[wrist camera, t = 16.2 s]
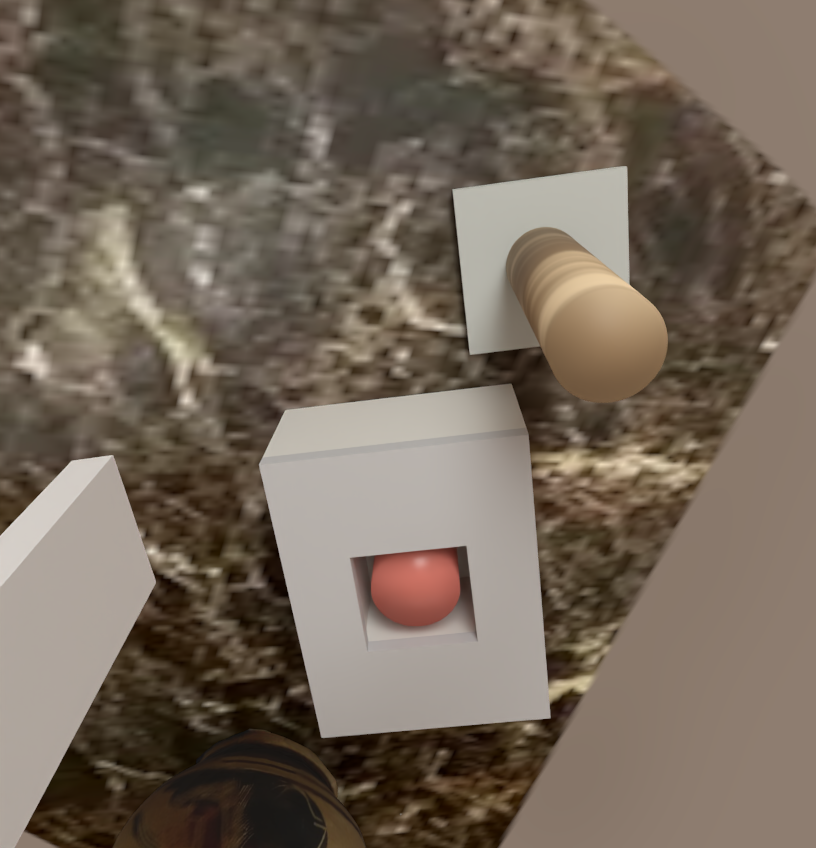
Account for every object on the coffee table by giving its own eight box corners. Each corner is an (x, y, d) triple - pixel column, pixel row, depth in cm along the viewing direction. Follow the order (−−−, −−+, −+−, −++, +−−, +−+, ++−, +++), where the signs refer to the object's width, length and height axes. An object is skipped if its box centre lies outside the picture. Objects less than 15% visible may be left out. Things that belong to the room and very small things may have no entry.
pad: (452, 189, 35) (452, 190, 34) (623, 165, 34) (627, 166, 34) (469, 351, 38) (470, 354, 37) (627, 332, 37) (630, 335, 37)
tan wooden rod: (502, 232, 35) (544, 297, 22) (579, 221, 35) (667, 281, 22) (509, 306, 36) (552, 409, 23) (583, 297, 36) (668, 395, 23)
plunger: (371, 506, 40) (364, 556, 36) (451, 497, 40) (455, 546, 36) (382, 574, 42) (377, 630, 37) (459, 566, 42) (464, 621, 37)
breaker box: (285, 410, 39) (258, 465, 33) (511, 383, 39) (528, 434, 32) (335, 652, 45) (321, 737, 39) (532, 633, 44) (550, 718, 38)
